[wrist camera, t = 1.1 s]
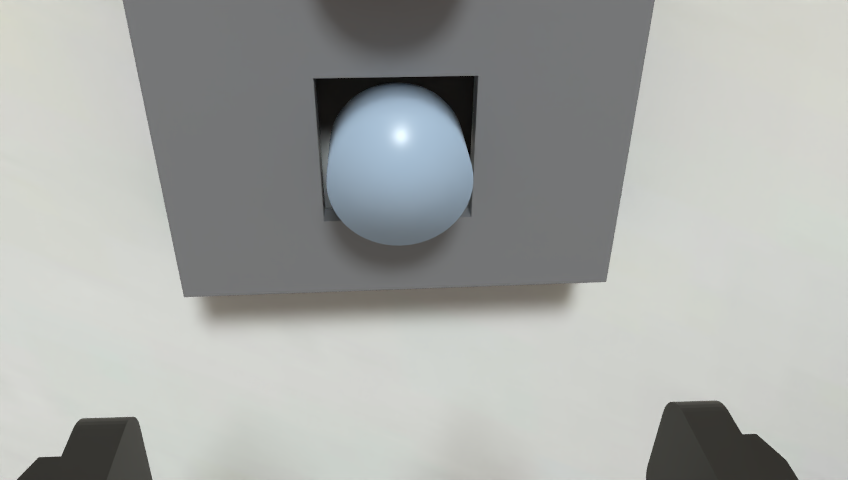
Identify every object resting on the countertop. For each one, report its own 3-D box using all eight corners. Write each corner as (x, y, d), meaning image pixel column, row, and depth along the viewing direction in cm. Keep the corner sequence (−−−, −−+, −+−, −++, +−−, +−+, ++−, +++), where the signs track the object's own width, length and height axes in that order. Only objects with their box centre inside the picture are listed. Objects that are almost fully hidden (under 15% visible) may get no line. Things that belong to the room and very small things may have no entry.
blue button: (465, 80, 21) (476, 113, 19) (460, 202, 23) (470, 243, 21) (325, 83, 21) (321, 116, 19) (333, 206, 23) (331, 248, 21)
